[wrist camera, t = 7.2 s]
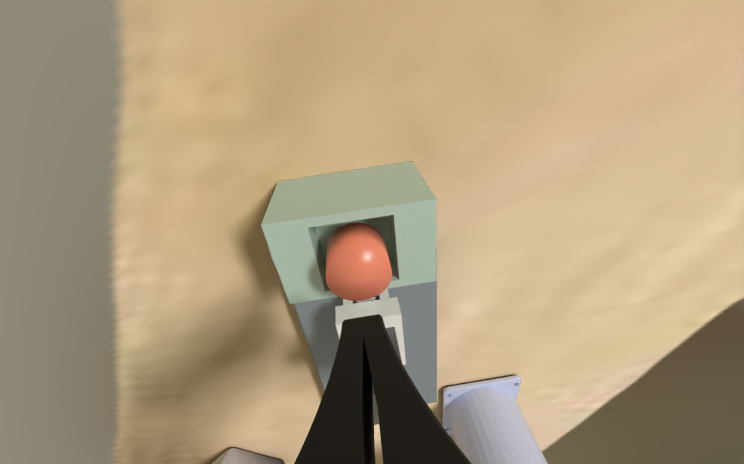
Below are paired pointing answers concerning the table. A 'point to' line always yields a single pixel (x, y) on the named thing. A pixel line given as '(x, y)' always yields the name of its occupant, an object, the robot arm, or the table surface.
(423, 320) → the rail board
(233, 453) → the juice carton
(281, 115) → the table surface
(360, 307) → the carriage
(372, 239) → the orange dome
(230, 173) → the table surface
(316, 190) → the end cabinet
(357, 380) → the robot arm
